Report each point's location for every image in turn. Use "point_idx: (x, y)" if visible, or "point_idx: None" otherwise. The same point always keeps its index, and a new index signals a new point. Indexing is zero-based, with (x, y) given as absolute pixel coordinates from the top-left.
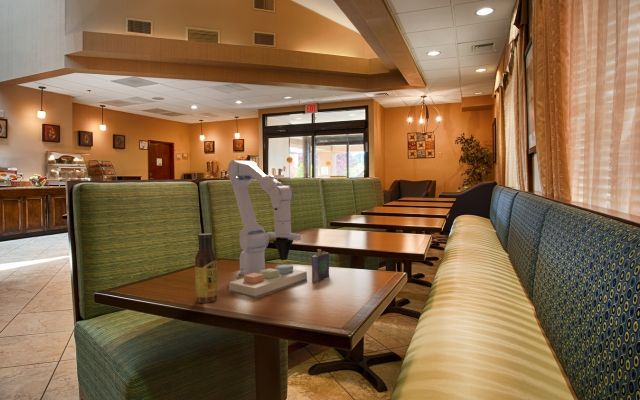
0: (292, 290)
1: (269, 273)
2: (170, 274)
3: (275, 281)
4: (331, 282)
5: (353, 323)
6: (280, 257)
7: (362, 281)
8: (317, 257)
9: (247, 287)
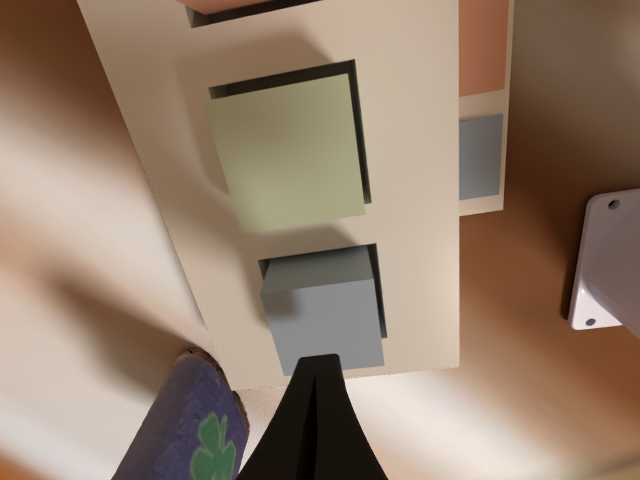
0: (112, 179)
1: (205, 101)
2: None
3: (110, 83)
4: (132, 392)
5: None
6: (326, 370)
7: (68, 462)
8: None
9: None
